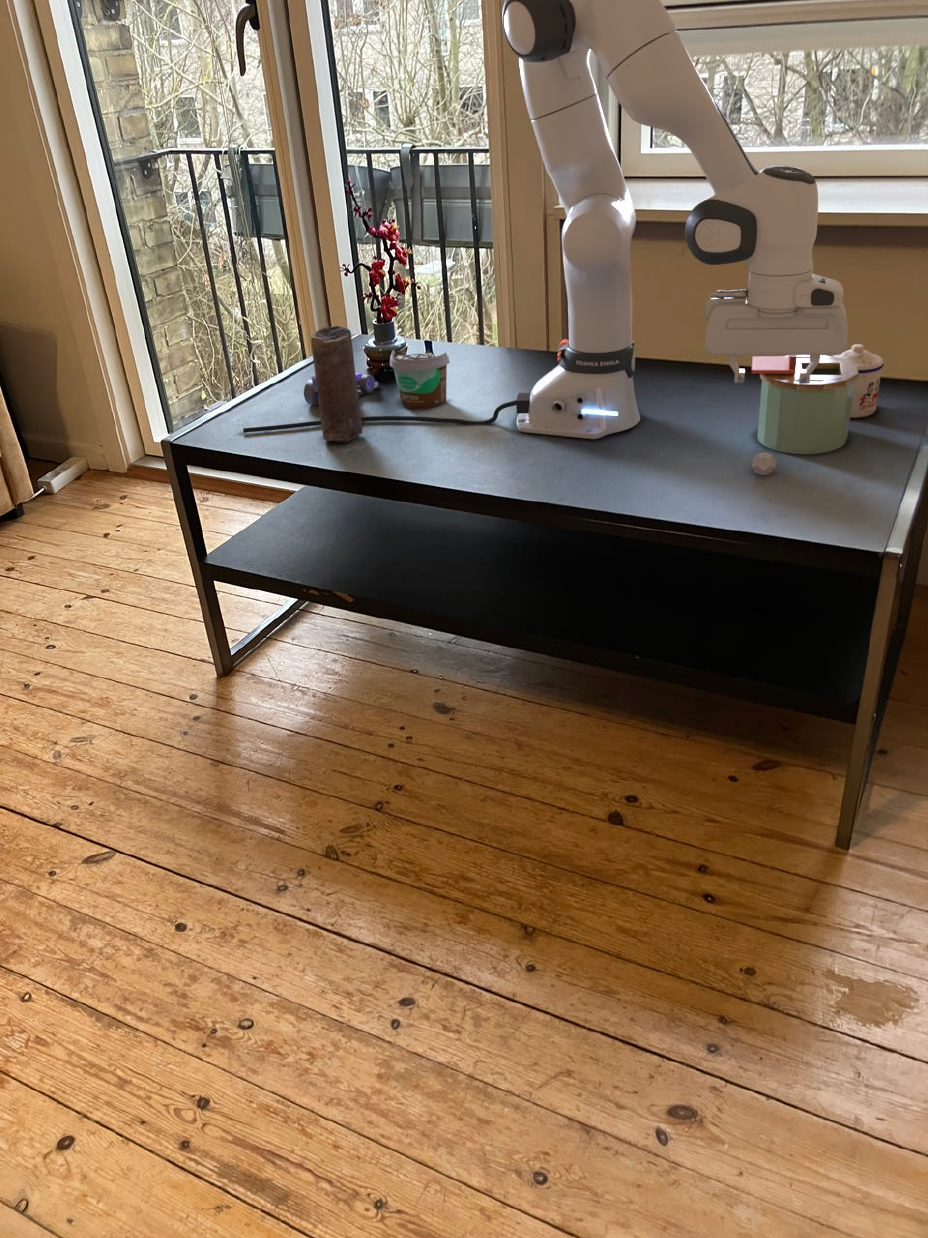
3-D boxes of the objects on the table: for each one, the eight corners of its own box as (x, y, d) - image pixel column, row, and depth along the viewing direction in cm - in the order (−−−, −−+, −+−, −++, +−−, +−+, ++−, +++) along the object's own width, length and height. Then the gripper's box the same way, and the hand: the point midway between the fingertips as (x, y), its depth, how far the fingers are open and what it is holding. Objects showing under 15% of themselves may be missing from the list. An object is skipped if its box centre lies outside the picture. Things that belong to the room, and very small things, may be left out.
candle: (370, 432, 189) (356, 325, 178) (354, 447, 183) (339, 338, 172) (334, 430, 191) (318, 325, 181) (317, 445, 185) (299, 337, 175)
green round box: (756, 453, 167) (761, 388, 161) (758, 421, 179) (762, 360, 173) (848, 455, 163) (857, 390, 158) (843, 422, 175) (851, 360, 169)
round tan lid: (759, 389, 161) (759, 383, 161) (760, 359, 173) (760, 353, 173) (860, 390, 157) (860, 384, 157) (854, 360, 169) (855, 354, 169)
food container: (383, 408, 199) (377, 359, 194) (397, 398, 204) (391, 349, 199) (441, 412, 195) (436, 362, 189) (453, 401, 199) (448, 352, 194)
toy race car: (384, 387, 210) (380, 356, 207) (344, 412, 199) (339, 380, 196) (346, 383, 214) (342, 353, 211) (305, 407, 203) (300, 375, 200)
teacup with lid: (867, 422, 174) (877, 355, 168) (815, 414, 179) (822, 349, 173) (888, 399, 183) (897, 336, 176) (837, 393, 187) (845, 330, 181)
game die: (756, 466, 163) (757, 448, 161) (778, 470, 161) (780, 452, 159) (747, 474, 160) (749, 456, 159) (770, 478, 158) (772, 460, 157)
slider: (751, 373, 164) (752, 357, 163) (752, 359, 170) (753, 344, 168) (795, 373, 162) (796, 357, 161) (794, 359, 168) (796, 344, 167)
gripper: (703, 296, 145) (699, 388, 153) (854, 293, 140) (842, 389, 147) (706, 284, 151) (702, 375, 158) (851, 282, 145) (840, 375, 153)
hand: (771, 382), depth 153 cm, fingers open, 8 cm apart
